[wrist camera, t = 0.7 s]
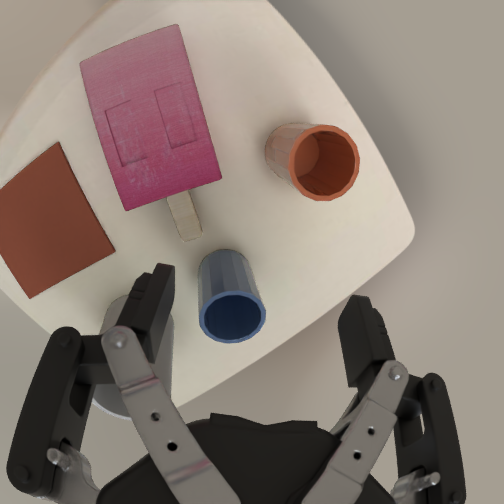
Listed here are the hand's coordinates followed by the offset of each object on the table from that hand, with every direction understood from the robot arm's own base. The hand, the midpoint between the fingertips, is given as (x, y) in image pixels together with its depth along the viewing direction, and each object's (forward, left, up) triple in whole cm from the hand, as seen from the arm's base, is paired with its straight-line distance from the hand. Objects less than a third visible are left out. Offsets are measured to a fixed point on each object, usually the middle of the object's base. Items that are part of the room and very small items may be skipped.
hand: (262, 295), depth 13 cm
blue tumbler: (+9, -4, -19) cm, 21 cm away
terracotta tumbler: (-1, +8, -19) cm, 21 cm away
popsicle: (-8, -4, -19) cm, 21 cm away
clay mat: (-6, -22, -19) cm, 30 cm away
